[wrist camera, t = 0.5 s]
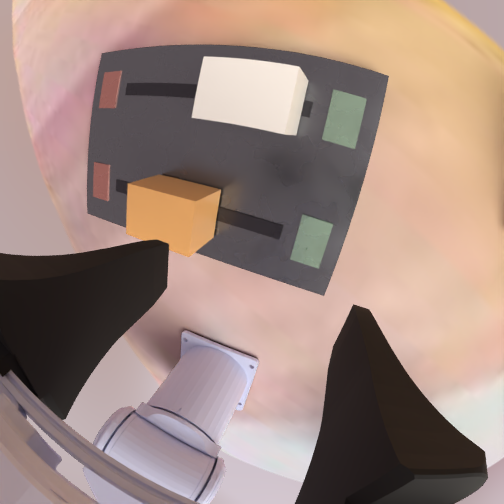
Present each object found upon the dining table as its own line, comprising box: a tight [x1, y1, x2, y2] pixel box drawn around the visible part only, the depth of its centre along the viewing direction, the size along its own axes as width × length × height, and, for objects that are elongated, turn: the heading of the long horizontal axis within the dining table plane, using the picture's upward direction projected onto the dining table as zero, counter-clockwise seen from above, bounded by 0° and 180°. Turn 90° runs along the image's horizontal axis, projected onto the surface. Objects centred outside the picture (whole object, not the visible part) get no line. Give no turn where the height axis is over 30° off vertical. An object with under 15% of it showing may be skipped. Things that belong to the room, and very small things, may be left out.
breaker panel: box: [87, 45, 389, 296], centre depth 19 cm, size 15×22×2 cm
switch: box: [192, 56, 308, 135], centre depth 14 cm, size 4×5×4 cm
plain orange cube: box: [126, 174, 221, 257], centre depth 18 cm, size 4×5×4 cm
